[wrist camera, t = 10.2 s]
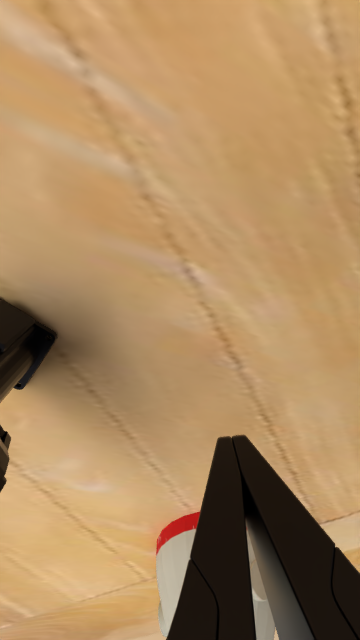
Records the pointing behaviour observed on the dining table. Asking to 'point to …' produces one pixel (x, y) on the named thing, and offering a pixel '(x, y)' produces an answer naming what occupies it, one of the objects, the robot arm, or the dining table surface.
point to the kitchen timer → (172, 570)
